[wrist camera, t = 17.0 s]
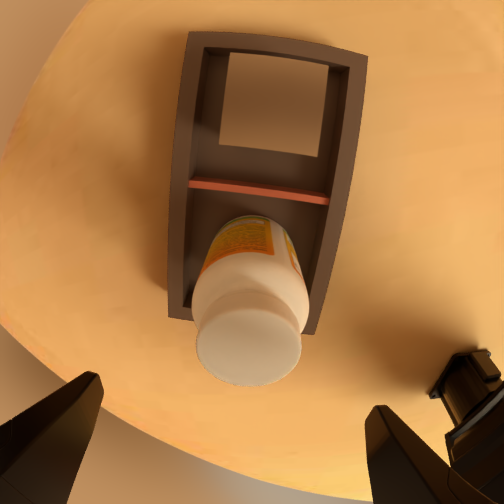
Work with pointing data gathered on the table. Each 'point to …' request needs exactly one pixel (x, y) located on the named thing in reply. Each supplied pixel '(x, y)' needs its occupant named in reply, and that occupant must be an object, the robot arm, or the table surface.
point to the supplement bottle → (250, 303)
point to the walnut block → (273, 103)
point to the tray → (259, 166)
